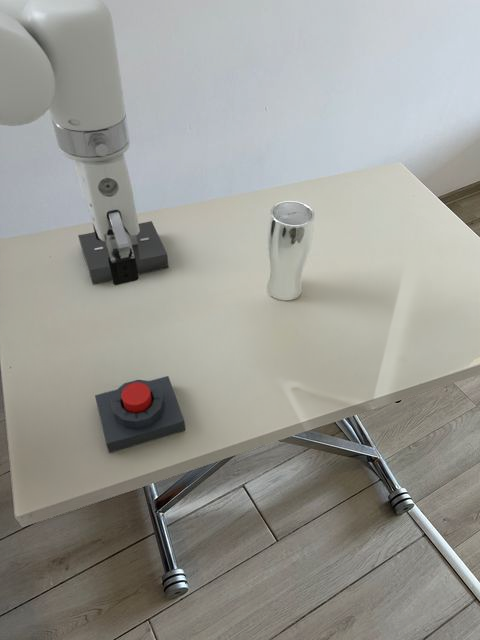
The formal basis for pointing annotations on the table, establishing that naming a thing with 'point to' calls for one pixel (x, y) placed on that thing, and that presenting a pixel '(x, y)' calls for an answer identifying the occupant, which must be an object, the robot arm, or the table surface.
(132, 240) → the hob knob
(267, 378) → the table surface
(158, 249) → the panel
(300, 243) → the beer glass
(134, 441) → the stop block
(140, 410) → the stop button
